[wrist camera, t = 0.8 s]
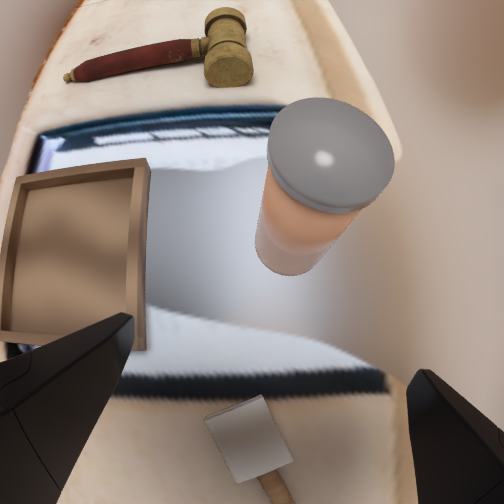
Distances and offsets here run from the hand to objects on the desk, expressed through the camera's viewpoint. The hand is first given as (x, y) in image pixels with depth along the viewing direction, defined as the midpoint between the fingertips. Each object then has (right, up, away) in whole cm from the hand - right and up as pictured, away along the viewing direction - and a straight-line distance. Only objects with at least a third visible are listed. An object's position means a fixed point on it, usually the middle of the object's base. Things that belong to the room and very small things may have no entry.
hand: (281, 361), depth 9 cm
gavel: (-12, +23, +21) cm, 33 cm away
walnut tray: (-15, +3, +13) cm, 20 cm away
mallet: (0, -12, +10) cm, 15 cm away
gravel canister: (+2, +4, +15) cm, 15 cm away
